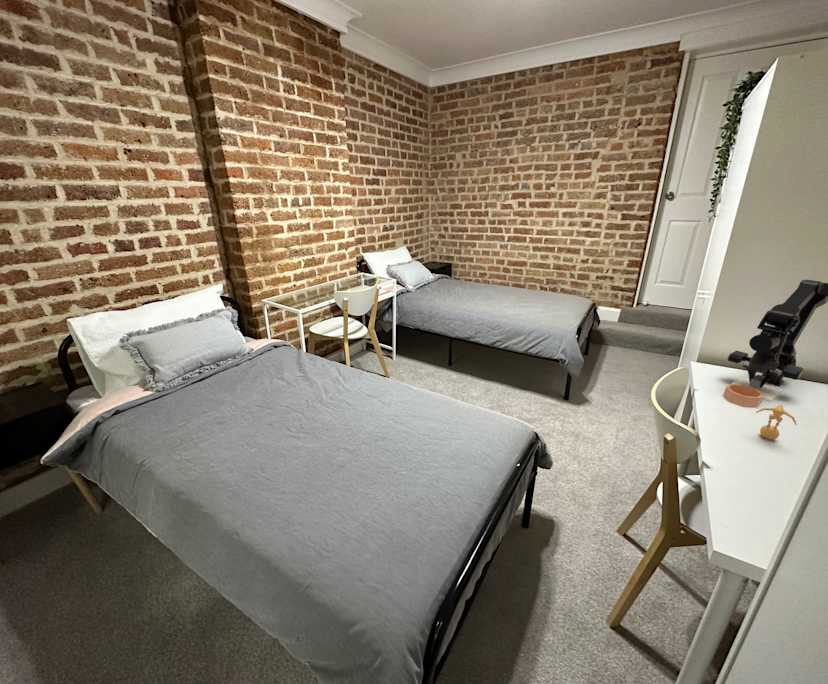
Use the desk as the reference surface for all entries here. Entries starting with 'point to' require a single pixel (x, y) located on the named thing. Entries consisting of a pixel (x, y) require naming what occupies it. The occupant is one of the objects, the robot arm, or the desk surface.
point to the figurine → (772, 431)
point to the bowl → (743, 395)
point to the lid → (755, 383)
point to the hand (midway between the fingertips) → (755, 385)
